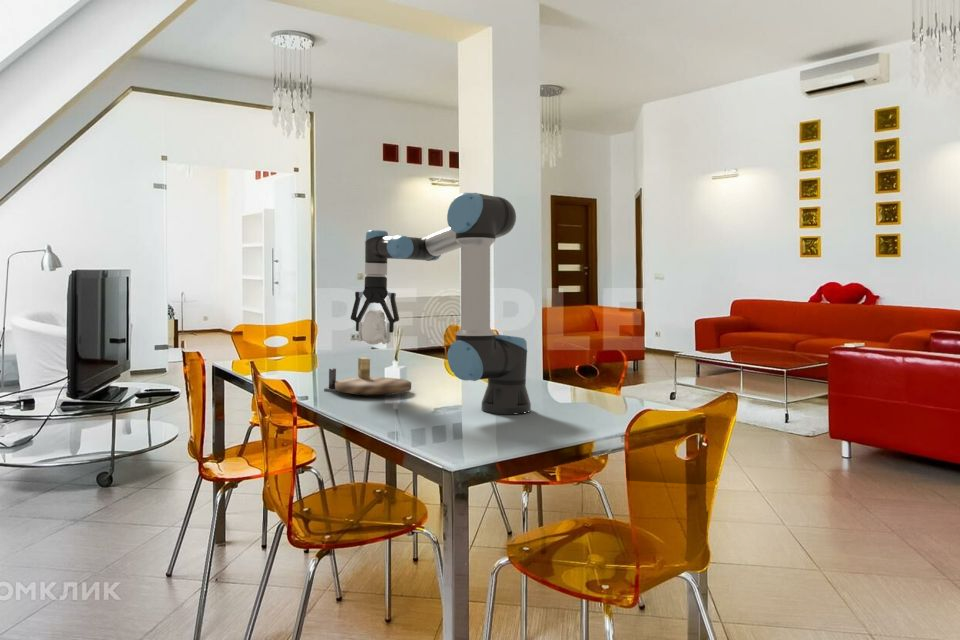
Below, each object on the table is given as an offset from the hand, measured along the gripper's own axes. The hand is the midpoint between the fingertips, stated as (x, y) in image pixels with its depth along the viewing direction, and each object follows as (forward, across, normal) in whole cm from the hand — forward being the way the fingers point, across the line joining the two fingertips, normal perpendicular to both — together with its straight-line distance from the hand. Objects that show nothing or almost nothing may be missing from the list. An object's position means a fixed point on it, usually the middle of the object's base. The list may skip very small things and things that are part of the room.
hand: (374, 341), depth 235 cm
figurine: (+1, 0, 0) cm, 1 cm away
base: (+18, +5, 0) cm, 19 cm away
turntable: (+16, 0, 0) cm, 16 cm away
